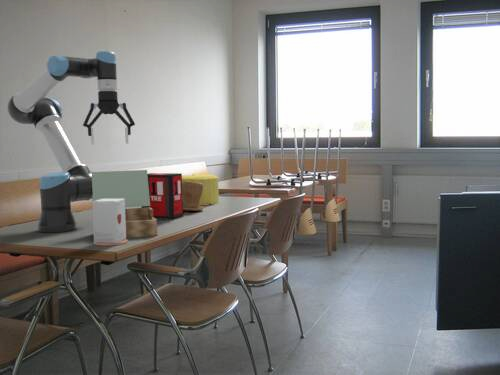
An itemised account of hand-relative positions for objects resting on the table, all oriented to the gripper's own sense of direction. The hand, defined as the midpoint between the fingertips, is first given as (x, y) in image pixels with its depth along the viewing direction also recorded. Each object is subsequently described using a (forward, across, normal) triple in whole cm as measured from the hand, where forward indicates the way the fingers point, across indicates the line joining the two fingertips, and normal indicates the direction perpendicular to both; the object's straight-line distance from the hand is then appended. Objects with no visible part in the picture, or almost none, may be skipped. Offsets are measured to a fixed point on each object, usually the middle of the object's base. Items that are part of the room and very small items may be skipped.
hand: (110, 144), depth 237 cm
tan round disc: (+35, -4, -30) cm, 46 cm away
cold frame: (+35, +3, -16) cm, 38 cm away
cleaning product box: (+35, +24, +22) cm, 48 cm away
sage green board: (+18, +3, -6) cm, 19 cm away
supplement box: (+34, -4, -30) cm, 46 cm away
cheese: (+35, +50, +68) cm, 91 cm away
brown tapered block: (+35, +40, +38) cm, 65 cm away
